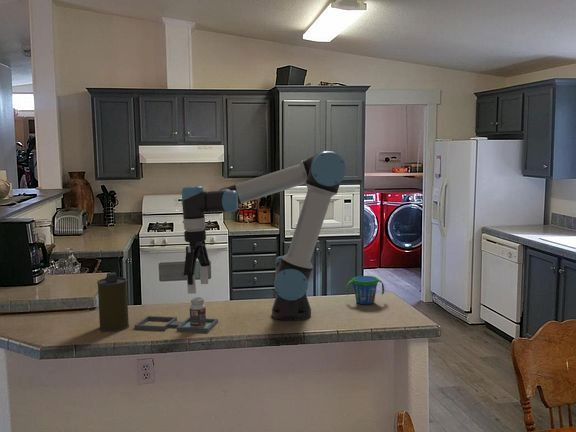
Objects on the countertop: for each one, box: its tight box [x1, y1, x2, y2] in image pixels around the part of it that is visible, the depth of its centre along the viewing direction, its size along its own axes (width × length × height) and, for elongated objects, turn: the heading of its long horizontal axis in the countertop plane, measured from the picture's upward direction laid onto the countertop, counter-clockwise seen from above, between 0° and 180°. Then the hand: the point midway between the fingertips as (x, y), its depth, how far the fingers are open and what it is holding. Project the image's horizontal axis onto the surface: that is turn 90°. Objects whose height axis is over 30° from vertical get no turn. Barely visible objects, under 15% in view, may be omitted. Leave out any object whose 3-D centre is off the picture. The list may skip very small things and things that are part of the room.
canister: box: [96, 272, 130, 333], centre depth 208 cm, size 11×10×20 cm
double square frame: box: [133, 315, 219, 333], centre depth 210 cm, size 28×12×1 cm, turn 80°
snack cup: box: [345, 275, 385, 305], centre depth 237 cm, size 16×10×10 cm
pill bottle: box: [189, 296, 207, 328], centre depth 208 cm, size 6×6×10 cm
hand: (198, 288), depth 207 cm, fingers open, 13 cm apart
